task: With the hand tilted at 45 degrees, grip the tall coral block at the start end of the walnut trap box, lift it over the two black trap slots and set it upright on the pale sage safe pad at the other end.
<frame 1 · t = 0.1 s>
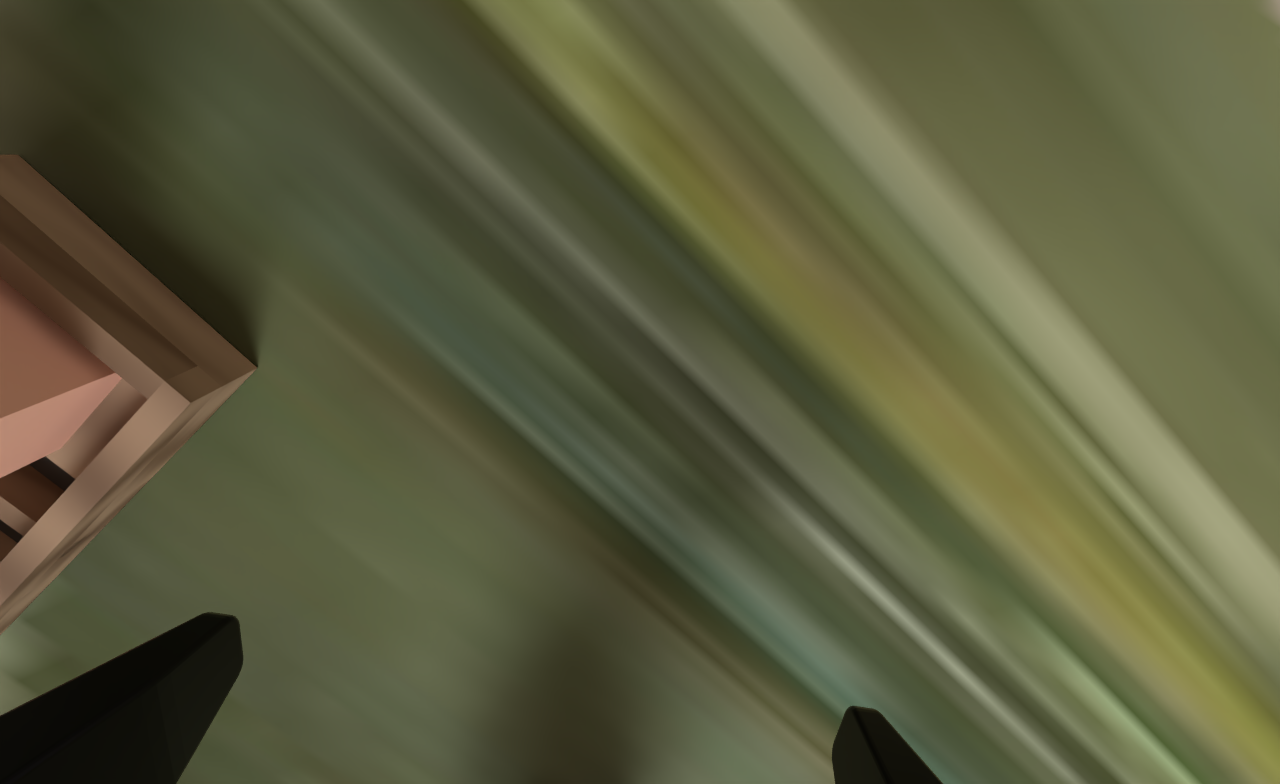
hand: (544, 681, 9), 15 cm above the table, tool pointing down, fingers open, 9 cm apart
coral block: (32, 357, 21), point 2 cm above the table, touching trap box
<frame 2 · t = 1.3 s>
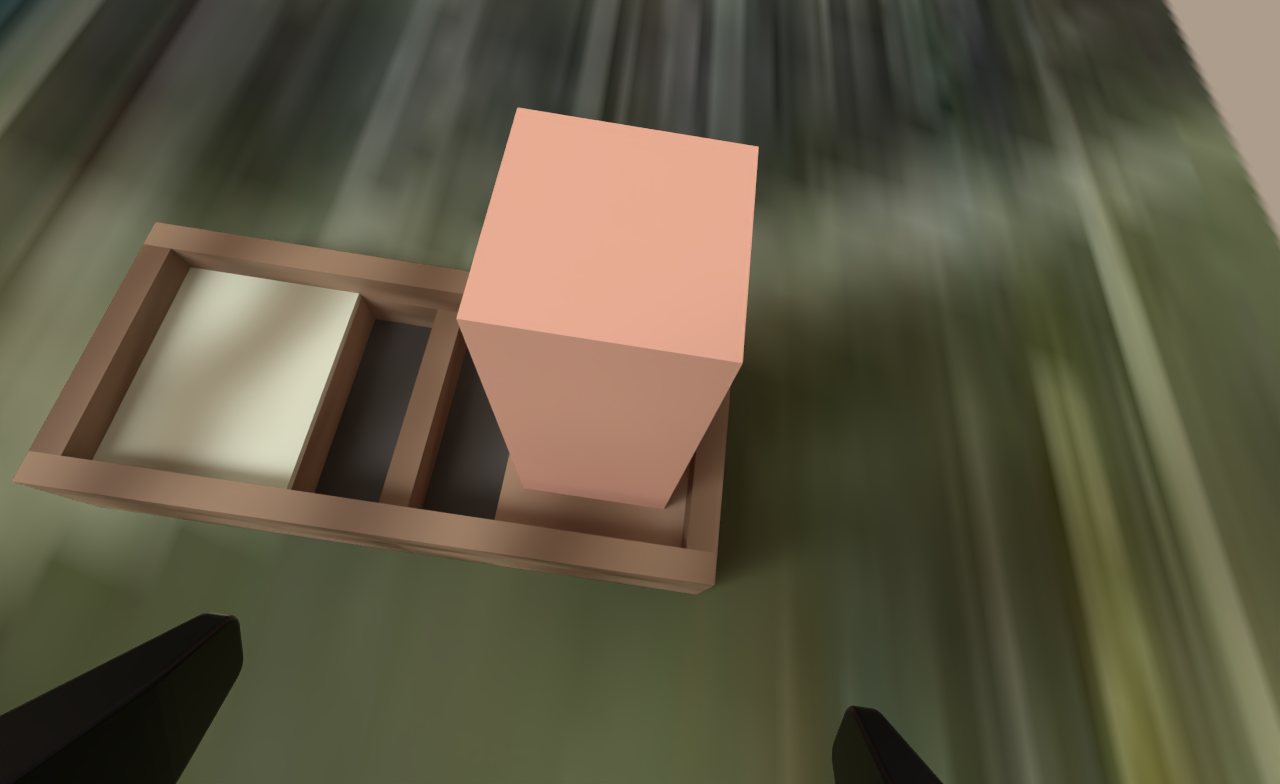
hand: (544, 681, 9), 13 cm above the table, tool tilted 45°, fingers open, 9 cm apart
coral block: (604, 432, 23), point 2 cm above the table, touching trap box
trap box: (435, 423, 24), on the table
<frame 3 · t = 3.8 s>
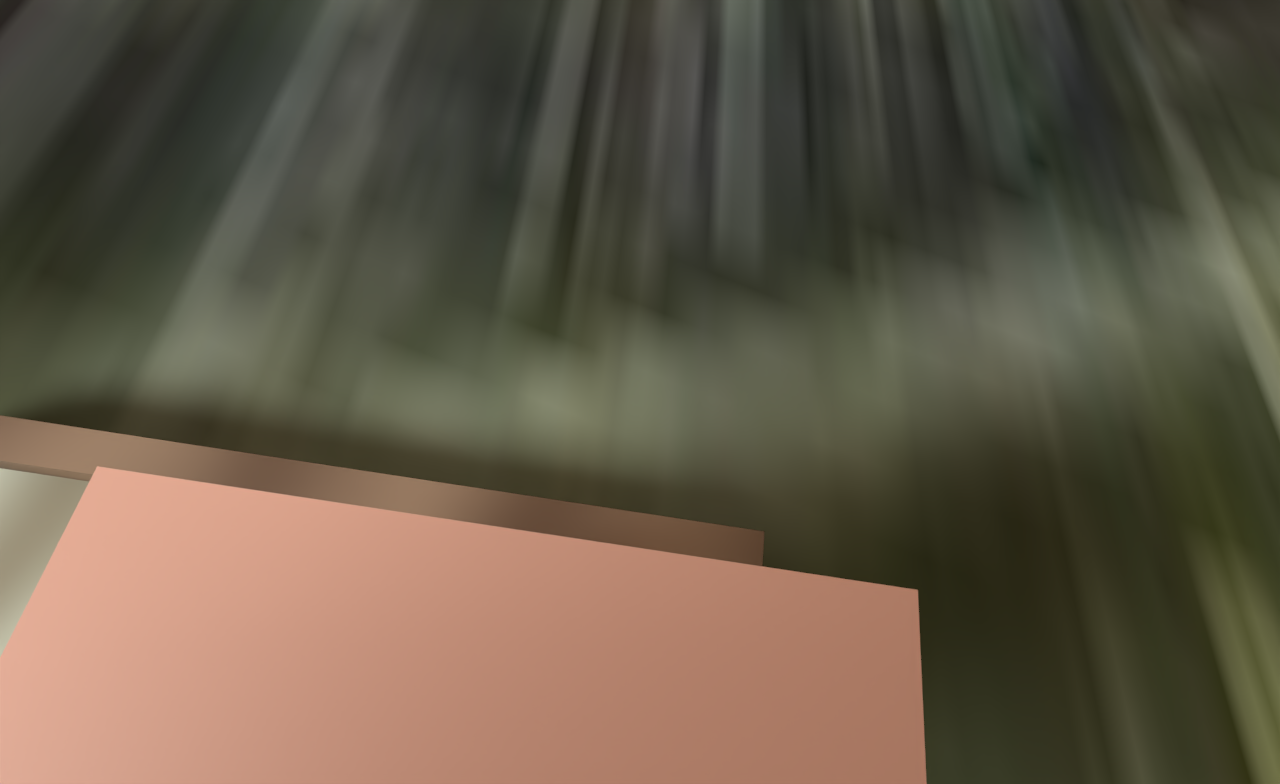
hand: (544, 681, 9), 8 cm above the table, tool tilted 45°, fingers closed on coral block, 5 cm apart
coral block: (548, 737, 14), point 2 cm above the table, touching gripper, trap box
trap box: (287, 689, 15), on the table
when the fingers open (9 cm above the table, at t = 7.9 s): coral block drops 1 cm, resting on trap box.
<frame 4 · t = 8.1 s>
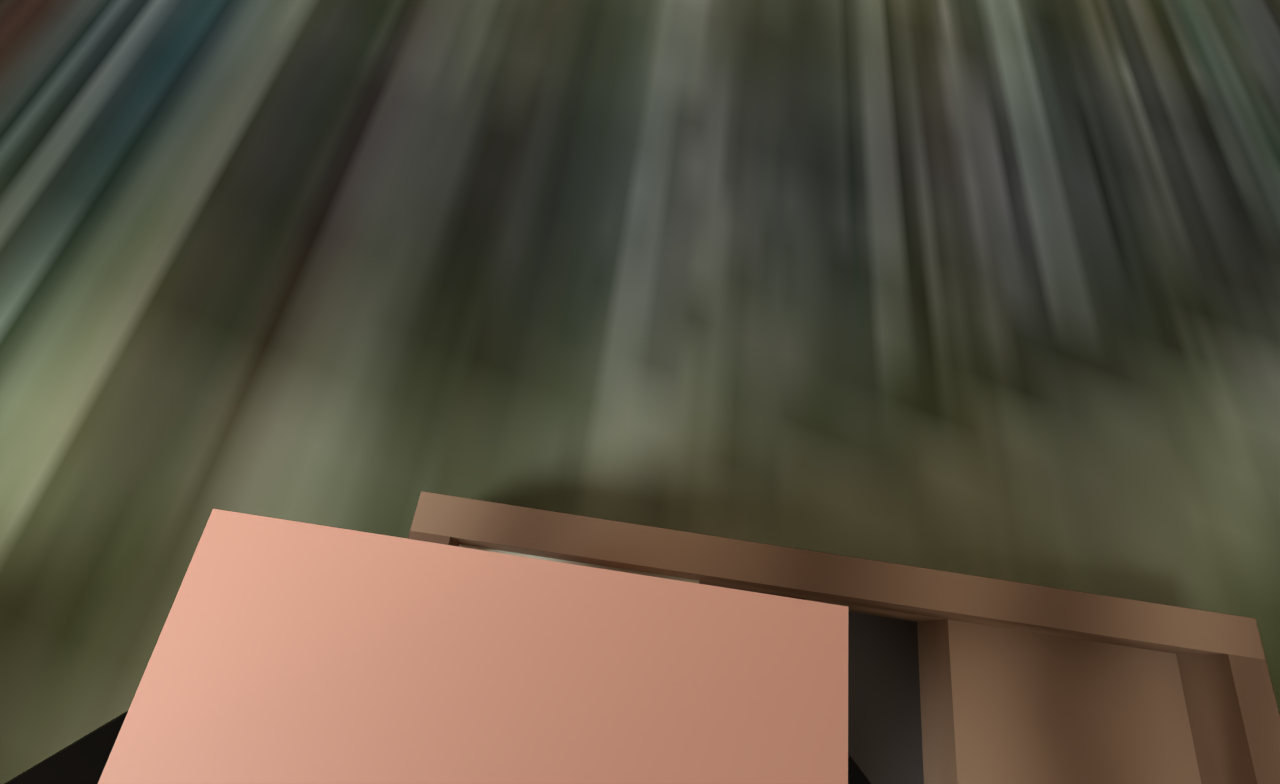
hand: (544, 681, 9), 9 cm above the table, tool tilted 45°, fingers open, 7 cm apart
coral block: (551, 731, 15), point 2 cm above the table, touching trap box
trap box: (795, 755, 17), on the table
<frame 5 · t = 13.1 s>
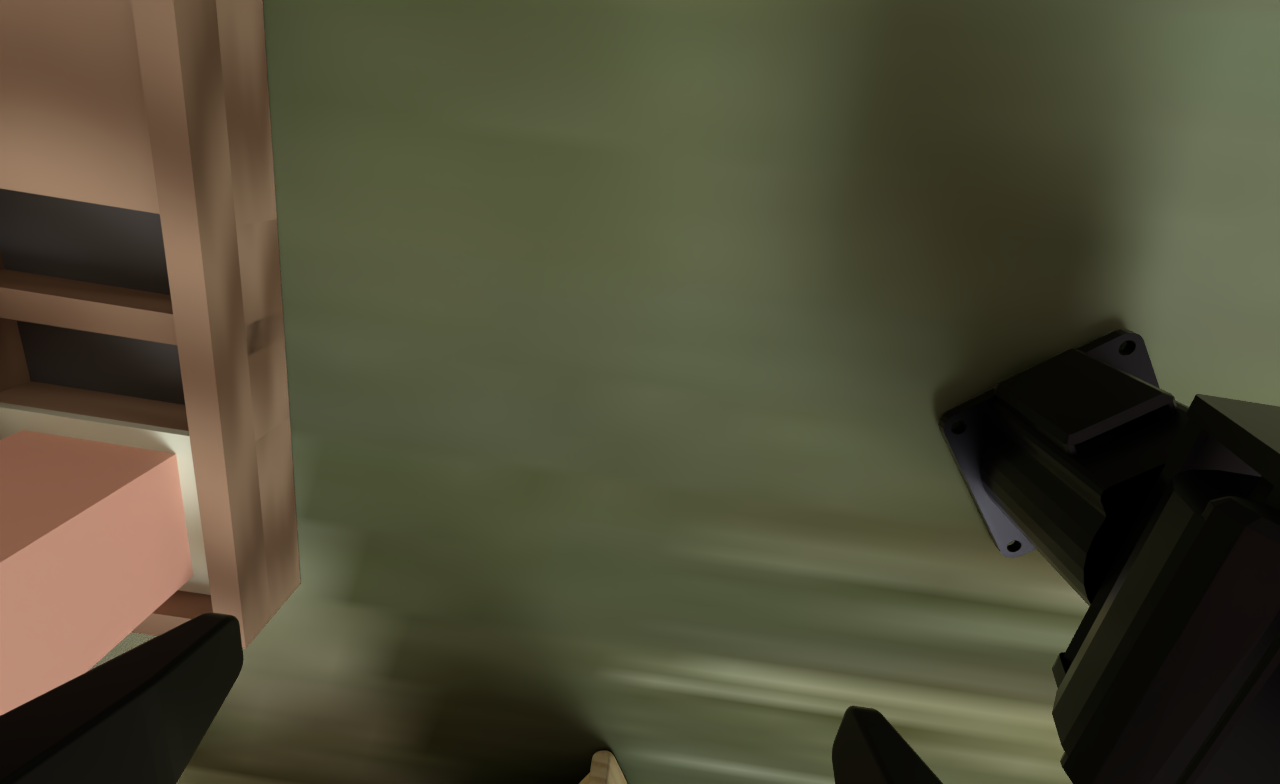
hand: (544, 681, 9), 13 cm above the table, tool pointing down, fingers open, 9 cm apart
coral block: (112, 506, 21), point 2 cm above the table, touching trap box
trap box: (136, 300, 21), on the table
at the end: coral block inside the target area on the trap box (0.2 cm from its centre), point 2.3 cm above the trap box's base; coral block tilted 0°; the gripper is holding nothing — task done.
